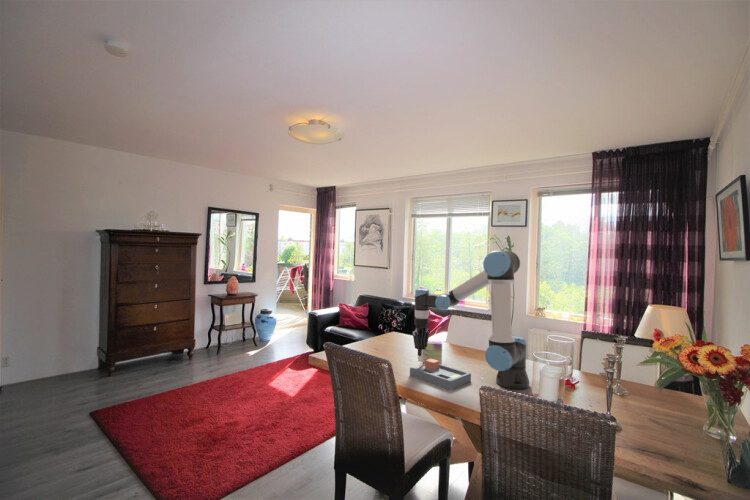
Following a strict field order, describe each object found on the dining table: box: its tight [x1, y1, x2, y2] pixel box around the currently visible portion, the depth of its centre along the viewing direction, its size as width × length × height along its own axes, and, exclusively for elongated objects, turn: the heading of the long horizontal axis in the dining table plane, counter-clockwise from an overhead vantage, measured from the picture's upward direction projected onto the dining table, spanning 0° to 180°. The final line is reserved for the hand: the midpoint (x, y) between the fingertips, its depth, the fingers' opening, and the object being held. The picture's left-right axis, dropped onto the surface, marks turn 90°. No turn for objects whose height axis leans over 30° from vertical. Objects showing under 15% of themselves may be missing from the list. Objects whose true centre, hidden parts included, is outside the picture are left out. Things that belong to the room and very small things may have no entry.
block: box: [424, 359, 439, 371], centre depth 186 cm, size 6×5×4 cm
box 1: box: [422, 340, 443, 365], centre depth 204 cm, size 10×6×12 cm, turn 84°
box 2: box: [409, 364, 472, 391], centre depth 179 cm, size 25×17×4 cm
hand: (420, 361), depth 192 cm, fingers closed
